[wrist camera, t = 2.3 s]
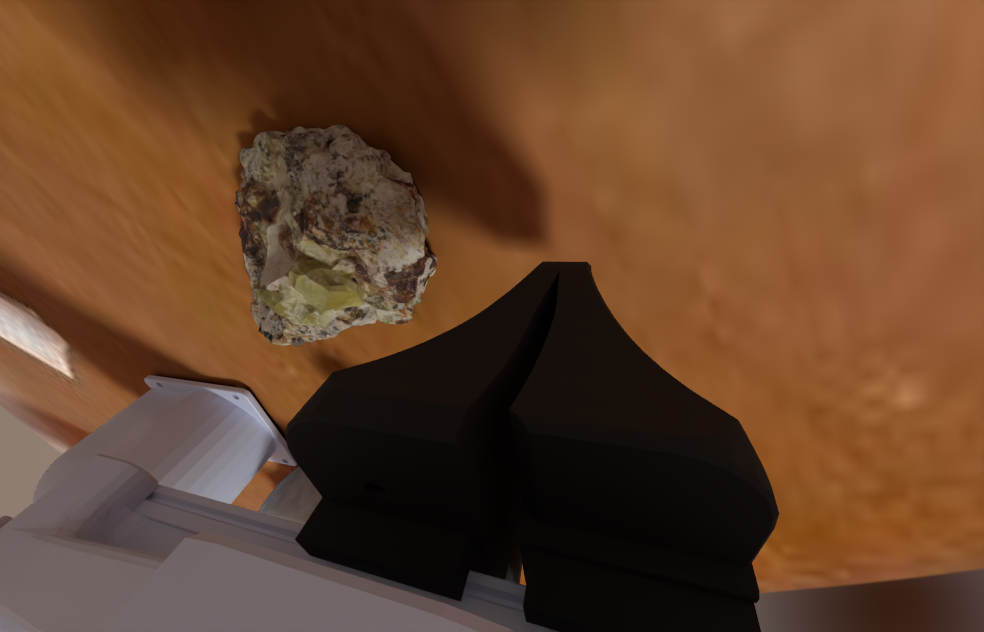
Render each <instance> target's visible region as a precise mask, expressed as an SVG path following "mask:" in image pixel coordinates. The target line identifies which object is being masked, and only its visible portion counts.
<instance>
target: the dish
mask: <svg viewBox="0 0 984 632" xmlns="http://www.w3.org/2000/svg"><path fill="white" fill-rule="evenodd" d="M321 499H322V496H321V495H320V493H319V492H318V491H317V489H316V488H315V487H314V485H313V484H312V483H311V481H310V480H309V479H308V477H307V476H306V475H305V473H304V472H303V471H302V469H301V468H300V467H299V466H298V467H297V468H296V469H295V470H293V471H292V472H291V473H290V474H289V475H287V476H286V477H285V478H284V479H283V480H282V481H281V482H280V483H279V484H278V485H277V486H276V487H275V488H274V490H273V491H272V492H271V493H270V495H269V496H268V497H267V499H266V500H265V501H264V503H263V504H262V505H261V508H260V510H259V512H260V513H264V514H268V515H271V516H275V517H279V518H282V519H286V520H289V521H293V522H297V523H300V524H304V525H305V523H306V522H307V520H308V518H309V517H310V515H311V514H312V512H313V511H314V509H315V508H316V506H317V505H318V503H319V502H320V500H321Z"/></svg>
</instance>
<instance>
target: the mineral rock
mask: <svg viewBox="0 0 984 632" xmlns="http://www.w3.org/2000/svg"><path fill="white" fill-rule="evenodd" d="M238 154H239V157H240V160H241V164H242V166H243V167H244V168H243V170H242V172H241V184H240V190H238V191H236V192H235V193H236V202H235V204H236V205H237V207H238V210H239V213H240V215H241V218H242V219H243V220H242V222H241V224H240V225H241V226H242V228H241V230H240V232H239V235H240V238H241V241H242V251H243V254H244V258H245V265H246V269H247V270H248V272H249V276H250V279H251V281H250V285H251V287H252V289H251V290H252V302H251V304H250V309H251V314H252V317H253V318H254V320H255V321H256V323H257V324H258V326H259V327H260V328H259V332H261V333H262V334H264V336H265V337H266V338H267V339H268V340H269V341H270V342H271V343H273V344H276V345H288V344H292V345H294V346H295V347H298V346H300V345H302V344H304V343H306V342H308V341H309V342H312V343H314V341H315V340H325V339H328V338H329V339H333V338H334V337H335V336H337V335H338V334H339V333H340V332H341V331H342V330H344V329H347V328H349V327H352V326H355V325H358V326H362V325H365V324H373V323H376V320H379V321H381V322H383V323H389V324H403V323H408V320H412V314H414V310H413V306H414V305H416V304H418V303H420V302H421V294H422V293H423V292H424V289H425V287H426V284H427V282H428V278H429V276H432V275H433V274H434V273H435V271H436V267H437V263H436V262H437V257H436V256H435V255H434V254H431V253H428V248H427V247H426V246H425V242H424V241H425V236H426V235H427V234H428V233H429V231H428V217H427V214H426V211H425V209H424V205H425V204H424V201H423V198H422V197H421V196H420V195H419V194H418V193H417V189H416V186H414V185H413V179H412V176H411V173H409V172H404V171H403V170H401V169H400V168H399V167H398V166H397V165H396V164H394V163H393V162H392V161H391V160H390V158H391V157H390V155H389V154H388V153H387V152H386V151H385V150H377V149H375V148H372V147H370V146H368V145H367V144H366V143H365V142H364V141H363V140H362V139H361V137H360V136H359V135H357V134H355V133H353V132H352V131H351V130H350V129H349V128H348V127H347V126H344V125H332V126H331V127H329V128H327V129H321V128H303V127H301V126H299V127H295V128H291V129H287V130H286V133H282V132H278V131H269V132H261V133H259V134H257V136H256V137H255V139H254V142H253V148H245V147H244V148H243V149H242V150H241V151H240V152H239V153H238Z"/></svg>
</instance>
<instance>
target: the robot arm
mask: <svg viewBox="0 0 984 632" xmlns="http://www.w3.org/2000/svg"><path fill="white" fill-rule="evenodd" d="M144 382H145V383H146V384H147V385H148V386H149V387H150V388H151V389H150V390H149V391H148V392H146V393H145V394H144V395H142V396H141V397H140V398H138V399H137V400H136V401H134V402H133V403H131V404H130V405H129V406H127V407H126V408H125V409H123V410H122V411H121V412H119V413H118V414H116V415H115V416H114V417H112V418H111V419H110V420H108V421H107V422H106V423H104V424H103V425H101V426H100V427H99V428H97V429H96V430H95V431H93V432H92V433H91V434H89V435H88V436H86V437H85V438H84V439H82V440H81V441H80V442H78V443H77V444H76V445H74V446H73V447H71V448H70V449H69V450H67V451H66V452H65V453H63V454H62V455H61V456H60V457H59V458H58V459H57V460H55V461H54V462H53V463H52V464H51V465H50V466H49V468H48V469H47V470H46V471H45V473H44V474H43V476H42V478H41V479H40V481H39V483H38V485H37V487H36V489H35V492H34V496H33V503H32V504H31V505H30V506H28V507H27V508H26V509H25V510H23V511H22V512H21V513H20V514H18V515H17V516H16V517H14V518H11V517H9V516H3V517H1V518H0V632H761V630H760V626H759V622H758V618H757V614H756V609H755V605H754V602H755V603H757V601H758V600H759V588H758V585H757V581H756V577H755V573H754V569H753V566H752V562H753V560H754V559H755V557H756V556H757V554H758V553H759V551H760V550H761V548H762V547H763V545H764V544H765V542H766V540H767V539H768V537H769V536H770V534H771V533H772V531H773V530H774V528H775V525H776V522H777V519H778V515H779V511H778V508H777V504H776V501H775V497H774V494H773V490H772V487H771V484H770V482H769V479H768V477H767V474H766V472H765V470H764V467H763V465H762V463H761V461H760V459H759V458H758V456H757V454H756V452H755V450H754V448H753V446H752V444H751V442H750V440H749V439H748V437H747V435H746V433H745V431H744V429H743V428H742V426H741V424H740V422H739V421H738V420H737V419H736V418H734V417H733V416H731V415H729V414H728V413H726V412H725V411H723V410H722V409H720V408H718V407H717V406H715V405H714V404H712V403H710V402H709V401H707V400H706V399H704V398H703V397H701V396H699V395H698V394H696V393H695V392H693V391H692V390H690V389H689V388H687V387H686V386H685V385H683V384H682V383H681V382H679V381H678V380H677V379H675V378H674V377H673V376H671V375H670V374H669V373H667V372H666V371H665V370H664V369H662V368H661V367H660V366H659V365H658V364H657V363H656V362H654V361H653V360H652V359H651V358H650V357H649V356H648V355H647V354H646V353H644V352H643V351H642V350H641V349H640V347H639V346H638V345H637V344H636V343H635V342H634V341H633V340H632V339H631V338H630V337H629V335H628V334H627V333H626V332H625V331H624V330H623V328H622V327H621V326H620V324H619V323H618V322H617V320H616V319H615V318H614V316H613V315H612V313H611V312H610V310H609V309H608V307H607V305H606V304H605V302H604V300H603V298H602V296H601V294H600V292H599V291H598V289H597V286H596V284H595V282H594V279H593V276H592V273H591V266H590V265H589V264H588V263H587V262H542V263H541V264H539V265H538V266H537V267H536V268H535V269H534V270H533V271H532V272H531V273H529V274H528V275H527V276H526V277H525V278H524V279H523V280H522V281H521V282H519V283H518V284H517V285H516V286H515V287H514V288H512V289H511V290H510V291H509V292H508V293H506V294H505V295H504V296H502V297H501V298H500V299H498V300H497V301H496V302H494V303H493V304H492V305H490V306H489V307H488V308H486V309H485V310H483V311H482V312H480V313H479V314H477V315H476V316H474V317H472V318H471V319H469V320H467V321H466V322H464V323H462V324H460V325H459V326H457V327H455V328H453V329H451V330H449V331H447V332H445V333H443V334H441V335H439V336H436V337H434V338H432V339H430V340H428V341H426V342H424V343H421V344H419V345H416V346H414V347H411V348H409V349H406V350H404V351H401V352H398V353H395V354H393V355H390V356H387V357H384V358H381V359H378V360H374V361H371V362H367V363H364V364H361V365H357V366H354V367H350V368H347V369H343V370H339V371H335V372H333V373H332V374H331V375H330V376H329V377H328V379H327V380H326V381H325V382H324V383H323V384H322V385H321V387H320V388H319V389H318V390H317V391H316V392H315V394H314V395H313V396H312V397H311V398H310V399H309V400H308V402H307V403H306V404H305V405H304V406H303V407H302V408H301V410H300V411H299V412H298V413H297V414H296V415H295V417H294V418H293V419H292V420H291V421H290V422H289V423H288V425H287V429H286V432H285V436H286V441H287V442H286V441H285V439H284V438H283V436H282V435H281V434H280V432H279V431H278V430H277V428H276V427H275V425H274V424H273V423H272V421H271V420H270V419H269V417H268V416H267V414H266V413H265V412H264V410H263V409H262V408H261V406H260V405H259V403H258V402H257V401H256V399H255V398H254V397H253V395H252V394H251V393H250V392H249V391H248V390H246V389H243V388H237V387H230V386H223V385H216V384H209V383H202V382H195V381H189V380H182V379H175V378H168V377H161V376H154V375H149V376H147V377H146V378H144ZM267 461H272V462H277V463H282V464H286V465H291V466H296V465H297V464H298V465H299V467H300V468H301V469H302V471H303V472H304V473H305V475H306V476H307V477H308V479H309V480H310V481H311V483H312V484H313V485H314V487H315V488H316V489H317V491H318V492H319V493H320V495H321V496H322V499H321V500H320V502H319V503H318V505H317V506H316V508H315V509H314V511H313V512H312V514H311V515H310V517H309V518H308V520H307V522H306V523H305V525H304V524H300V523H297V522H293V521H289V520H286V519H282V518H279V517H275V516H271V515H268V514H264V513H260V512H257V511H253V510H250V509H246V508H242V507H239V506H235V505H231V503H232V502H233V501H234V500H235V499H236V497H237V496H238V495H239V494H240V493H241V491H242V490H243V489H244V488H245V487H246V485H247V484H248V483H249V482H250V481H251V480H252V478H253V477H254V476H255V475H256V474H257V472H258V471H259V470H260V469H261V468H262V466H263V465H264V464H265V463H266V462H267ZM522 565H523V570H524V576H525V581H526V586H525V585H522V584H520V577H521V569H522Z"/></svg>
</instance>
